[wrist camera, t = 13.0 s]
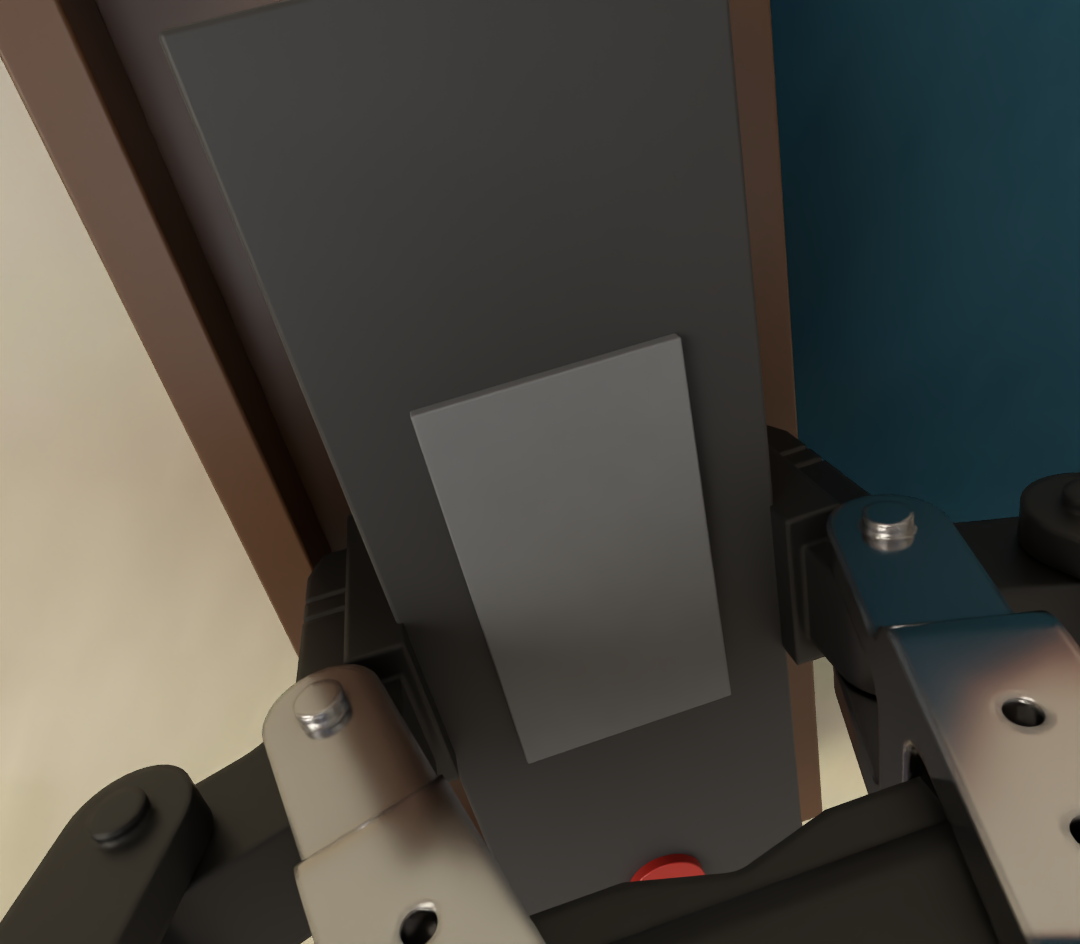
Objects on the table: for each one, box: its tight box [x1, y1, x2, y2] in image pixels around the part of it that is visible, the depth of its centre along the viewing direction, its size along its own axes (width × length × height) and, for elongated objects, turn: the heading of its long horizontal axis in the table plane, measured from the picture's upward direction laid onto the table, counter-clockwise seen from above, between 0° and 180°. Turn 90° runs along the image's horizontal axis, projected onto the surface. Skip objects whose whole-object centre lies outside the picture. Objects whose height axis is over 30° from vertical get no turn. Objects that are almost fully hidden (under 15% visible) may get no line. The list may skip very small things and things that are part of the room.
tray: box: [0, 0, 822, 847], centre depth 13 cm, size 9×19×2 cm, turn 13°
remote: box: [159, 0, 802, 916], centre depth 11 cm, size 14×5×4 cm, turn 13°
